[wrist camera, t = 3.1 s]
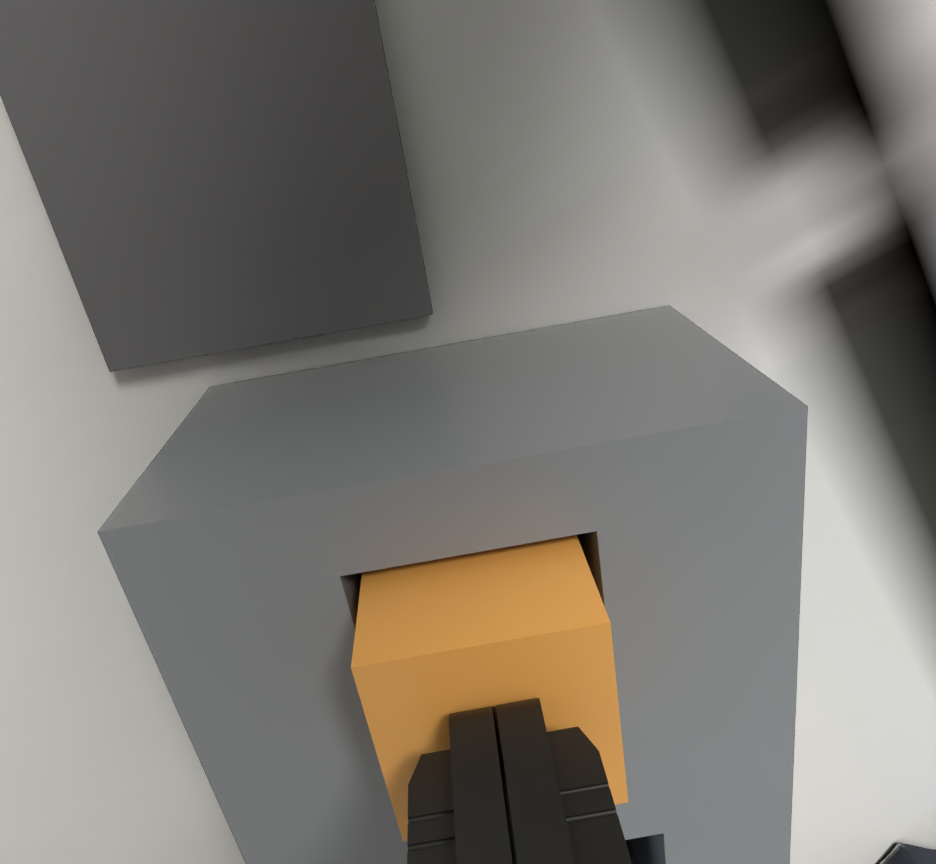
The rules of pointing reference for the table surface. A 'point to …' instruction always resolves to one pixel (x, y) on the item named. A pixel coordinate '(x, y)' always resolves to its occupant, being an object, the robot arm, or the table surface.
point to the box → (910, 855)
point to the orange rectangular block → (484, 652)
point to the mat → (215, 168)
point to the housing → (474, 530)
